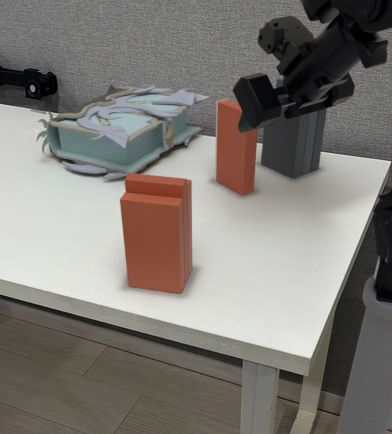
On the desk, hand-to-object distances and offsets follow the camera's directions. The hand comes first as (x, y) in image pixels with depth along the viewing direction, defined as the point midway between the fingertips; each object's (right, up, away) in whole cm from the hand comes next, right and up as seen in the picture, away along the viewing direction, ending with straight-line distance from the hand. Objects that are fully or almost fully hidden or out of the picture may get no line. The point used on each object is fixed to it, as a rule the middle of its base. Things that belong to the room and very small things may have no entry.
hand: (263, 122), depth 83 cm
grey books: (+7, -1, +17) cm, 19 cm away
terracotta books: (-15, -24, -10) cm, 30 cm away
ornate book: (-23, +4, +24) cm, 33 cm away
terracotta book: (-4, -6, +11) cm, 13 cm away
